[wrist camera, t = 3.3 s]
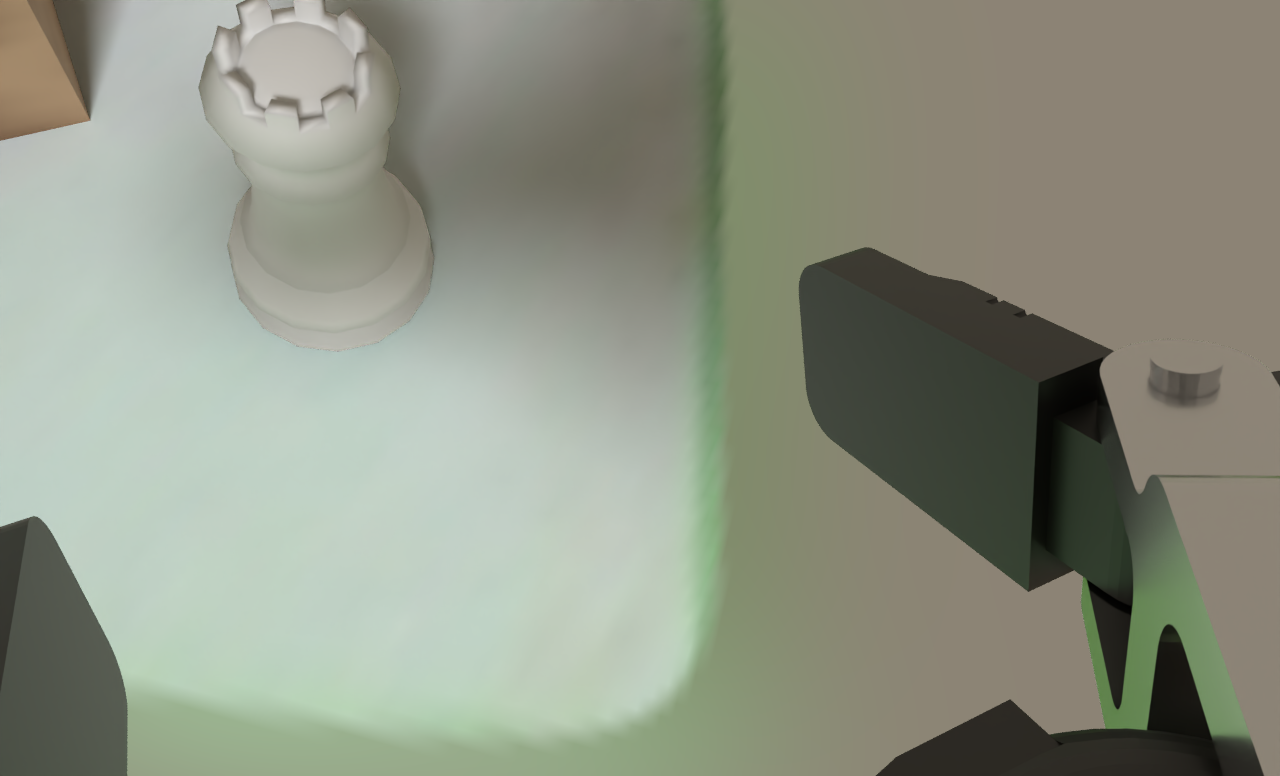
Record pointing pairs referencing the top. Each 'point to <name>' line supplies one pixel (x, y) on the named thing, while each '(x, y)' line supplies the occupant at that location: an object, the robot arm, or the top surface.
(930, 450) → the robot arm
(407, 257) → the rook chess piece
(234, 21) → the top surface
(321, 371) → the top surface
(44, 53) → the walnut base block
